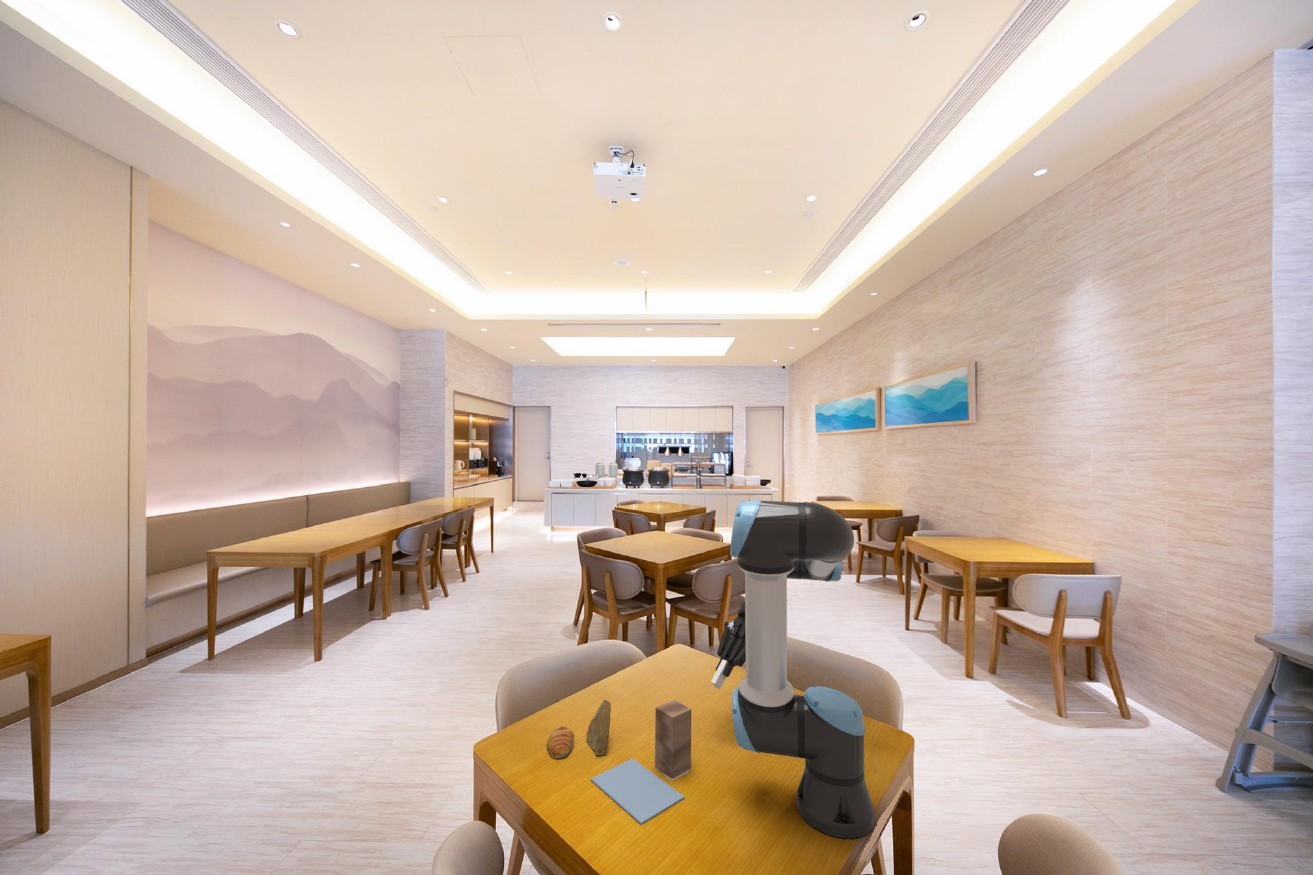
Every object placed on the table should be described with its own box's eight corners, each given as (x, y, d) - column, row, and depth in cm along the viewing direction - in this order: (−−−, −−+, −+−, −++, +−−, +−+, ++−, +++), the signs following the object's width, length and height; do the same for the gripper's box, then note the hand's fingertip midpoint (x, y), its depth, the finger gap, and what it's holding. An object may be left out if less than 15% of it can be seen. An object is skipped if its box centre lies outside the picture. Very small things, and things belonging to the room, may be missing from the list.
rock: (615, 750, 119) (626, 723, 129) (594, 721, 120) (607, 696, 130) (582, 770, 122) (596, 743, 131) (562, 741, 122) (577, 716, 132)
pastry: (574, 759, 120) (574, 743, 120) (545, 762, 119) (545, 745, 119) (574, 738, 129) (574, 723, 129) (547, 740, 128) (548, 725, 128)
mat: (684, 798, 106) (684, 796, 106) (641, 824, 98) (641, 822, 98) (632, 759, 119) (632, 758, 119) (590, 780, 111) (590, 778, 111)
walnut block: (691, 770, 116) (691, 709, 116) (672, 780, 112) (672, 717, 112) (673, 758, 120) (674, 699, 121) (654, 768, 116) (655, 707, 117)
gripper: (780, 621, 136) (741, 702, 124) (743, 610, 146) (704, 684, 134) (769, 605, 133) (727, 686, 121) (732, 595, 142) (690, 669, 131)
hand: (715, 685), depth 128 cm, fingers closed
